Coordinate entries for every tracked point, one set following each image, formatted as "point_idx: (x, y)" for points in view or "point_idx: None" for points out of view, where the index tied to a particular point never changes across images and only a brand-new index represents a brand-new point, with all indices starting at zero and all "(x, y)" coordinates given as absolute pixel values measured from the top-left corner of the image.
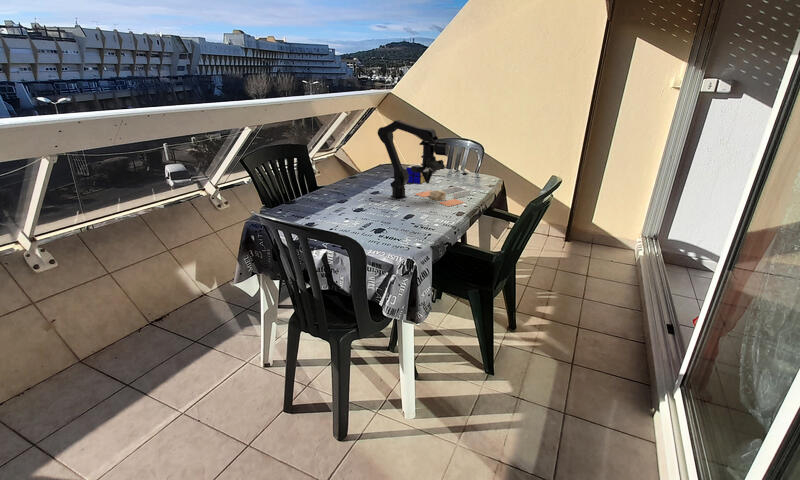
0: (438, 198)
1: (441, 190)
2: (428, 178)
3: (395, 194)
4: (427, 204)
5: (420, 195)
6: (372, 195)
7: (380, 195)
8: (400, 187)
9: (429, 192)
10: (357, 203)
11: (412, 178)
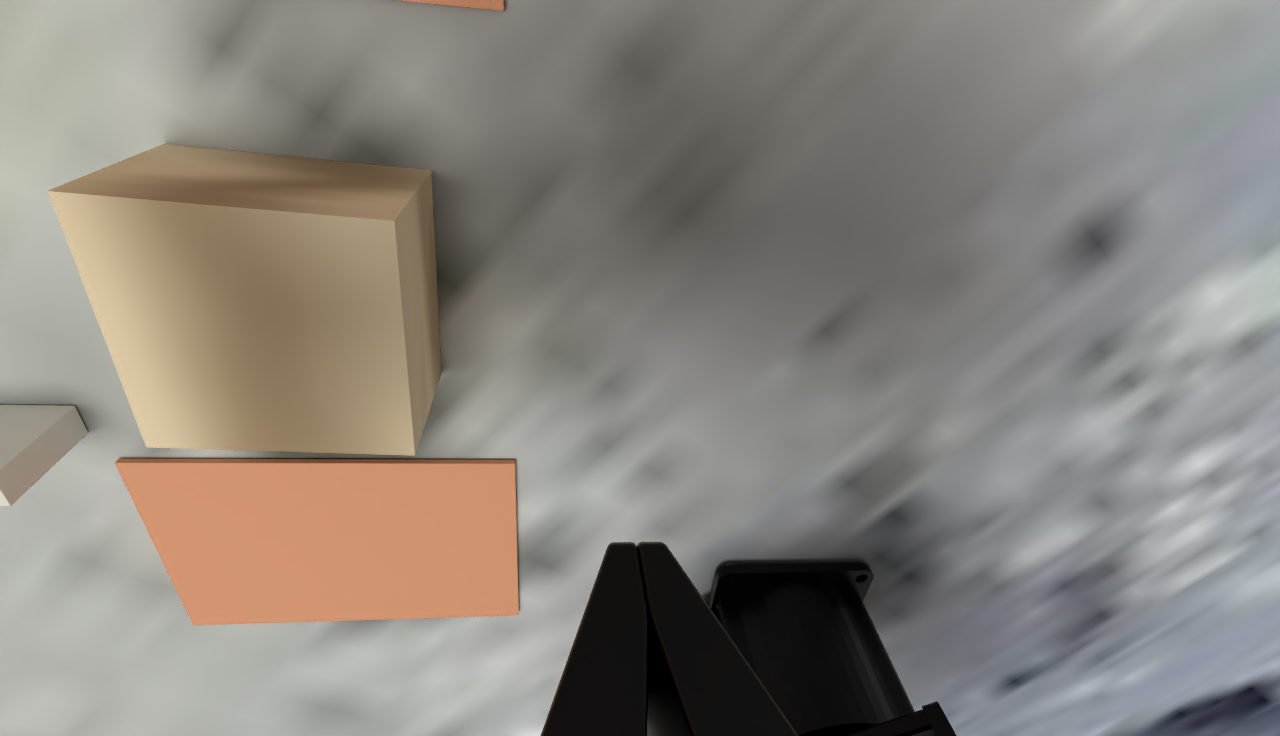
0: (369, 177)
1: (33, 484)
2: (696, 721)
3: (877, 635)
4: (772, 98)
5: (498, 533)
6: None
7: None
8: (868, 722)
9: (266, 574)
10: (1232, 629)
11: None
